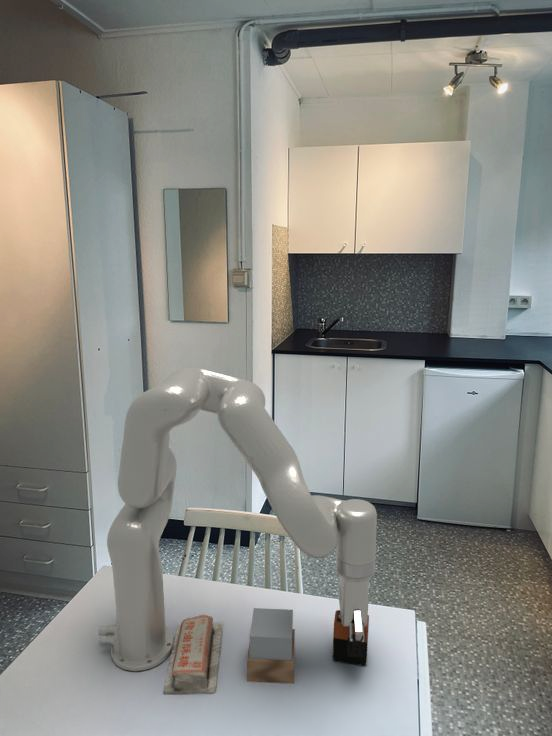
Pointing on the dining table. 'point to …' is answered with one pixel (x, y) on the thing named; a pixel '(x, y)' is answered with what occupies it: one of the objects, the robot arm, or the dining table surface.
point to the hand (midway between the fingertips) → (353, 637)
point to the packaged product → (195, 657)
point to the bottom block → (271, 668)
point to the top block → (271, 634)
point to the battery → (346, 642)
